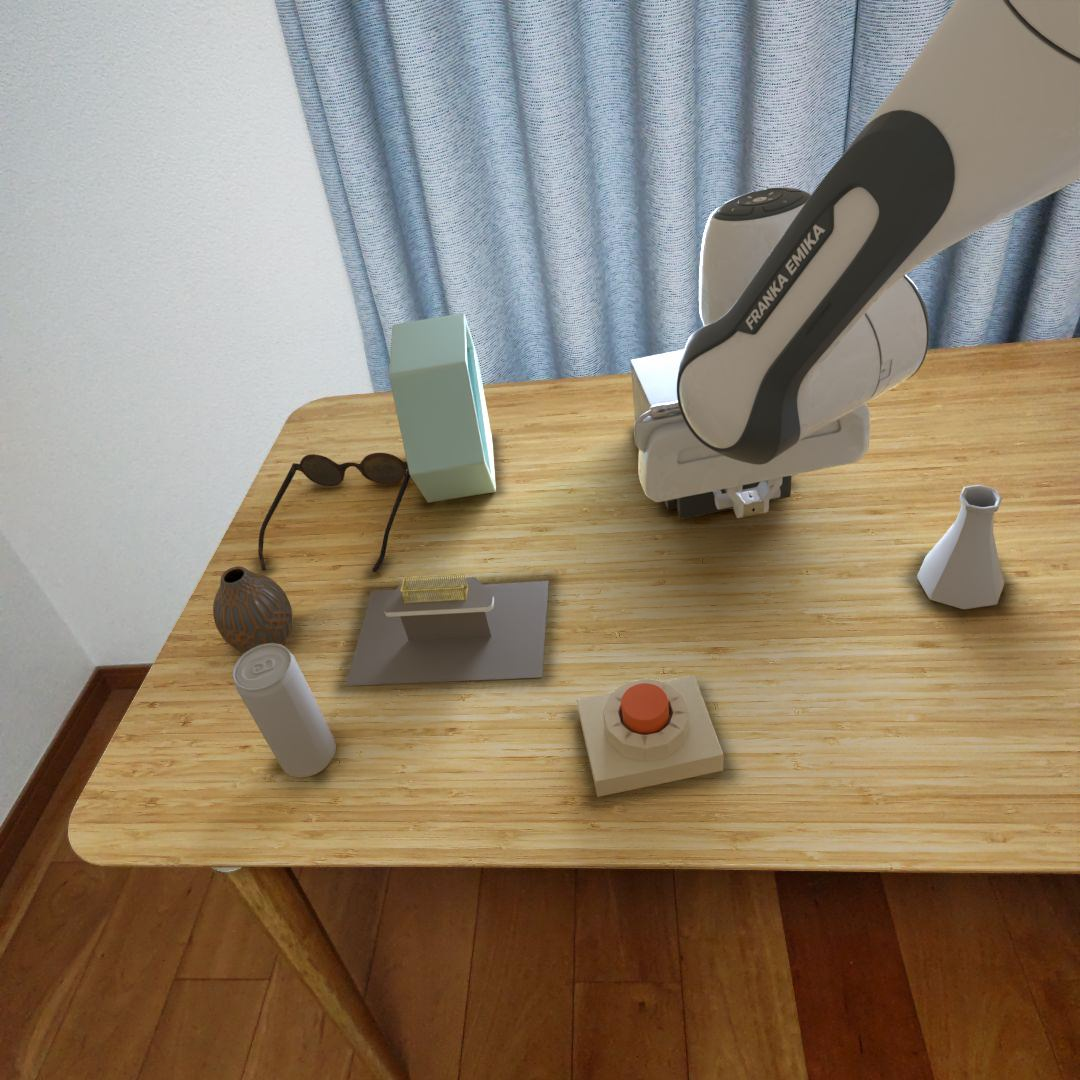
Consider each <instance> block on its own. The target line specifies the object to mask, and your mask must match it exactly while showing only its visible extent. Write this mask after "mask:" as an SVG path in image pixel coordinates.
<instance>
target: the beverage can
mask: <svg viewBox="0 0 1080 1080" xmlns="http://www.w3.org/2000/svg"><path fill="white" fill-rule="evenodd" d="M232 680H233V684H234V687H235V690H236V692H237V693H238V695H239V697H240V699H241V700H242V702H243V704H244V705H245V708H246V709H247V710H248V712H249V714H250V716H251V718H252V719H253V721H254V723H255V724H256V726H257V728H258V730H259V732H260V734H261V735H262V736H263V738H264V740H265V741H266V744H267V745H268V747H269V749H270V751H271V752H272V754H273V755H274V757H275V759H276V761H277V762H278V765H279V766H280V768H281V769H282V770H283V772H285V774H287V775H289V776H291V777H295V778H308V777H312V776H315V775H317V774H320V773H321V772H322V771H323V770H325V769H326V768H327V767H328V766H329V765H330V763H331V762H332V760H333V758H334V756H335V754H336V749H337V742H336V739H335V737H334V735H333V733H332V731H331V729H330V727H329V725H328V723H327V721H326V719H325V717H324V715H323V713H322V711H321V708H320V706H319V704H318V702H317V700H316V698H315V696H314V694H313V692H312V690H311V688H310V686H309V684H308V681H307V680H306V678H305V676H304V674H303V671H302V670H301V668H300V666H299V663H298V661H297V660H296V658H295V655H293V654H292V652H291V651H290V650H289V649H288V648H287V647H286V646H284V645H282V644H281V645H280V644H275V643H269V644H263V645H259V646H256V647H254V648H252V649H250V650H249V651H247V652H246V653H242V655H241V656H240V657H239V658H238V659H237V660H236V662H235V664H234V666H233V669H232Z"/></svg>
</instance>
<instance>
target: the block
mask: <svg viewBox="0 0 1080 1080" xmlns="http://www.w3.org/2000/svg"><path fill="white" fill-rule="evenodd" d="M641 683H649V684H654V685H656V686H658V687H660V688H661V689H662V690H663V691H664V692H665V693H666V695H667V697H668V706H669V718H668V721H667V723H666V724H665V726H664V727H663V728H661V729H660V730H658V731H656V732H654V733H649V734H642V733H638V732H635V731H633V730H631V729H630V728H629V727H628V726H627V725H626V724H625V722H624V720H623V714H622V706H621V700H622V696H623V694H624V693H625V692H626V690H628V689H629V688H630V687H632V686H634V685H636V684H641ZM575 702H576V707H577V712H578V717H579V722H580V726H581V730H582V734H583V738H584V739H583V740H584V743H585V747H586V748H585V749H586V753H587V757H588V761H589V762H588V763H589V766H590V770H591V774H592V779H593V782H594V788H595V793H596V797H597V798H600V797H605V796H609V795H614V794H620V793H624V792H628V791H629V792H630V791H633V790H639V789H642V788H647V787H652V786H657V785H662V784H667V783H671V782H676V781H681V780H686V779H690V778H695V777H700V776H705V775H709V774H715V773H719V772H723V771H724V753H723V749H722V747H721V744H720V741H719V739H718V736H717V732H716V731H715V727H714V725H713V721H712V720H711V716H710V714H709V711H708V709H707V706H706V702H705V699H704V698H703V694H702V692H701V689H700V686H699V683H698V681H697V678H696V675H695V674H693V675H688V676H687V675H686V676H682V677H677V678H673V679H667V680H664V681H661V680H656V679H651V678H647V677H645V678H641V679H637V680H632V681H627V682H624V683H623V684H622V685H620V686H619V687H618V688H616V689H615V690H614V691H609V692H606V693H601V694H595V695H590V696H587V697H581V698H577V699H576V700H575Z"/></svg>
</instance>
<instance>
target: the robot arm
mask: <svg viewBox="0 0 1080 1080" xmlns="http://www.w3.org/2000/svg"><path fill="white" fill-rule="evenodd" d="M1079 179H1080V0H954V2H953V3H952V5H951V6H950V7H949V9H948V11H947V12H946V14H945V15H944V17H943V18H942V20H941V21H940V22H939V24H938V26H936V29H935V30H934V31H933V33H932V34H931V35H930V38H929V39H928V41H927V42H926V43H925V45H924V46H923V48H922V49H921V50H920V52H919V53H918V54H917V56H916V58H915V59H914V60H913V62H912V64H911V65H910V67H909V68H908V69H907V71H906V72H905V73H904V74H903V76H902V78H901V79H900V80H899V81H898V83H897V84H896V85H895V86H894V88H893V90H892V91H891V92H890V93H889V95H888V96H887V97H886V98H885V99H884V100H883V102H882V104H880V106H879V107H878V109H876V111H875V112H874V114H873V115H872V116H871V118H870V119H869V121H868V122H867V123H866V125H865V126H864V127H863V129H861V131H860V132H859V133H858V134H857V136H856V137H855V138H854V140H853V141H852V142H851V143H850V145H849V146H848V147H847V149H846V150H845V151H844V152H843V154H842V155H841V156H840V158H839V159H838V160H837V162H836V163H835V164H834V165H833V166H832V167H831V169H829V171H828V173H826V175H825V176H824V177H823V179H822V180H821V182H819V184H818V186H816V188H815V190H813V192H812V193H810V192H808V191H806V190H803V189H800V188H798V187H790V186H776V187H767V188H765V189H764V188H763V189H758V190H752V191H749V192H747V193H744V194H741V195H739V196H737V197H734V198H732V199H730V200H728V201H726V202H724V203H722V204H721V205H718V206H717V208H715V209H714V210H713V211H712V212H711V213H710V215H709V217H708V220H707V222H706V225H705V228H704V232H703V236H702V243H701V250H700V259H699V260H700V261H699V277H698V278H699V279H698V287H699V288H698V301H699V302H698V303H699V306H698V308H699V316H700V318H701V322H702V325H703V326H701V327H699V328H697V329H696V330H695V331H693V332H692V333H691V334H690V336H689V337H688V339H687V341H686V344H685V347H684V348H683V349H684V352H683V355H682V358H681V361H680V365H679V371H678V377H677V399H678V401H677V402H674V403H673V402H672V403H667V404H665V403H662V404H657V405H654V406H651V407H650V411H647V412H645V413H644V414H642V415H641V416H640V417H639V418H638V419H637V420H636V421H635V420H634V425H633V433H634V434H633V437H634V443H635V446H636V447H637V449H638V461H637V464H638V465H637V467H638V468H637V470H638V472H637V473H638V478H639V482H640V485H641V488H642V490H643V492H644V495H645V496H646V497H647V498H648V499H650V500H651V501H652V502H654V503H663V502H664V501H667V500H672V499H677V498H682V497H687V496H692V495H697V494H702V493H707V492H711V491H716V490H721V489H725V491H726V493H727V495H728V496H729V497H730V498H731V499H732V506H733V509H732V511H733V513H734V514H735V517H736V518H737V519H740V518H747V517H750V516H754V515H760V514H765V513H769V510H770V509H769V508H770V501H769V499H771V498H772V496H773V495H774V494H775V493H776V491H777V490H778V489H779V487H780V486H781V485H782V478H783V477H786V476H791V475H792V476H795V475H800V474H805V473H809V472H815V471H819V470H826V469H830V468H835V467H839V466H845V465H850V464H854V463H857V462H859V461H860V460H861V459H862V458H863V457H864V456H865V455H866V454H867V453H868V451H869V448H870V441H871V427H872V425H871V423H872V422H871V412H870V411H871V410H870V409H869V406H868V405H867V404H868V403H870V402H871V401H873V400H875V399H877V398H878V397H880V396H882V395H883V394H886V393H887V392H889V391H891V390H892V389H894V388H896V387H897V386H899V385H900V384H903V383H904V382H905V381H907V380H909V379H910V378H913V377H914V375H916V373H917V372H918V371H919V370H920V368H921V367H922V365H923V364H924V362H925V359H926V355H927V353H928V349H929V344H930V336H931V334H930V333H931V329H930V328H931V325H930V317H929V312H928V309H927V308H928V307H927V305H926V302H925V300H924V297H923V295H922V293H921V291H920V289H919V288H918V287H917V285H916V284H915V283H914V281H913V280H912V279H911V278H910V277H909V276H908V274H909V273H910V272H911V271H913V270H914V269H916V268H917V267H919V266H920V265H922V264H923V263H925V262H927V261H928V260H930V259H931V258H933V257H935V256H936V255H937V254H939V253H941V252H942V251H944V250H946V249H947V248H948V249H949V248H950V247H951V246H953V245H955V244H957V243H958V242H960V241H962V240H964V239H966V238H967V237H969V236H972V235H974V234H975V233H977V232H979V231H981V230H983V229H985V228H987V227H989V226H990V225H993V224H994V223H997V222H999V221H1001V220H1003V219H1004V218H1007V217H1009V216H1010V215H1013V214H1014V213H1017V212H1018V211H1021V210H1023V209H1024V208H1027V207H1028V206H1031V205H1032V204H1035V203H1036V202H1038V201H1040V200H1043V199H1044V198H1046V197H1049V196H1050V195H1052V194H1054V193H1056V192H1058V191H1060V190H1062V189H1063V188H1065V187H1067V186H1069V185H1071V184H1072V183H1074V182H1076V181H1077V180H1079ZM650 415H651V416H650ZM756 482H760V483H759V485H758V486H757V488H756V489H754V490H750V491H745V492H742V487H743V485H746V484H751V483H756Z"/></svg>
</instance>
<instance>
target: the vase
mask: <svg viewBox="0 0 1080 1080" xmlns="http://www.w3.org/2000/svg"><path fill="white" fill-rule="evenodd" d="M219 581H220V582H219V587H218V589H217V590H216V591H217V592H216V593H215V596H214V598H213V599H214V600H213V604H212V614H213V620H214V624H215V627H216V629H217V631H218V633H219V635H220V636H221V638H222V639H223V641H224V642H226V644H228V645H229V646H230V647H231V648H233V649H234V650H236V651H237V652H239V653H242V654H244V653H246V652H247V651H249V650H250V649H252V648H254V647H256V646H259V645H263V644H269V643H275V644H280V645H282V644H283V643H285V641H286V640H287V638H288V637H289V635H290V632H291V630H292V629H293V628H292V627H293V608H292V605H291V603H290V600H289V597H288V595H287V594H286V592H285V591H284V589H283V588H282V587H281V586H280V585H279V584H278V583H277V582H276V581H275V580H273V579H272V578H271V577H269V576H267V575H265V574H262V573H258V572H254V571H250V570H248V569H247V568H246V567H243V566H241V565H240V566H239V565H237V566H232V567H230V568H228V569H226V570H225V571H224V572H223V573H222V574H221V576H220V580H219Z"/></svg>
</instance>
